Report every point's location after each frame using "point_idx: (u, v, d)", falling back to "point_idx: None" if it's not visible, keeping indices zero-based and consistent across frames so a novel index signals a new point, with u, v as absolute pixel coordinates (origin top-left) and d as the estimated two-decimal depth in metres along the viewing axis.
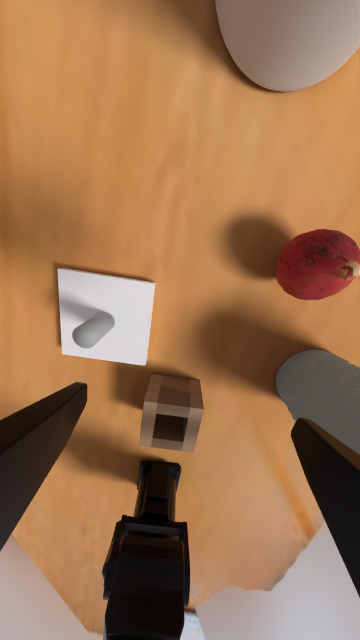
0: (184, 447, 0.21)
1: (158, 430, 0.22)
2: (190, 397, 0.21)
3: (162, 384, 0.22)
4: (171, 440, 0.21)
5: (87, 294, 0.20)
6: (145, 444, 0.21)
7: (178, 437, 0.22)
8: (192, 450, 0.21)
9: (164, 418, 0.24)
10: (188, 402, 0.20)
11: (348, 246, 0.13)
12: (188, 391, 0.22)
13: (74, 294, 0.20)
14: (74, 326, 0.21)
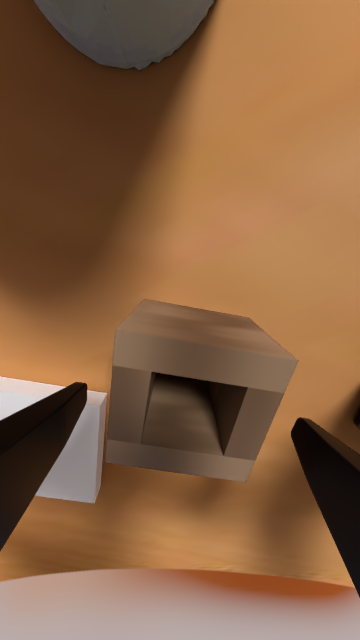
0: (272, 384, 0.07)
1: (221, 424, 0.09)
2: None
3: None
4: (238, 417, 0.07)
5: None
6: (244, 470, 0.08)
7: (239, 391, 0.07)
8: (287, 361, 0.06)
9: (217, 389, 0.10)
10: None
11: None
12: None
13: None
14: (45, 483, 0.14)
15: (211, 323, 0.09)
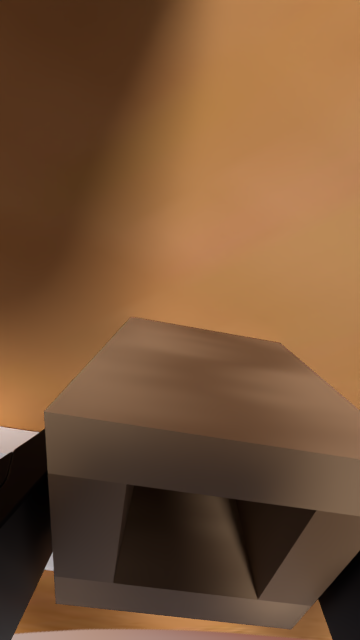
0: None
1: (249, 526, 0.05)
2: None
3: None
4: (290, 551, 0.04)
5: None
6: (291, 616, 0.05)
7: None
8: None
9: None
10: None
11: None
12: None
13: None
14: None
15: (233, 362, 0.05)
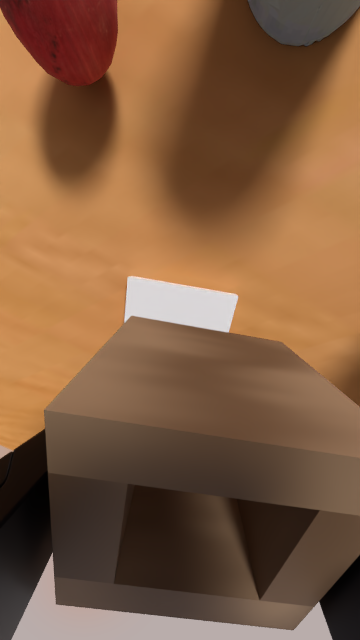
0: None
1: (251, 526, 0.05)
2: None
3: None
4: (293, 551, 0.04)
5: None
6: (293, 617, 0.05)
7: None
8: None
9: None
10: None
11: None
12: None
13: None
14: None
15: (235, 361, 0.05)
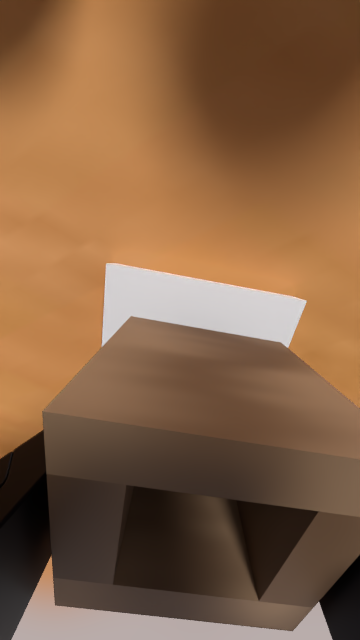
0: None
1: (250, 527, 0.05)
2: None
3: None
4: (292, 553, 0.04)
5: None
6: (292, 618, 0.05)
7: None
8: None
9: None
10: None
11: None
12: None
13: None
14: None
15: (234, 362, 0.05)
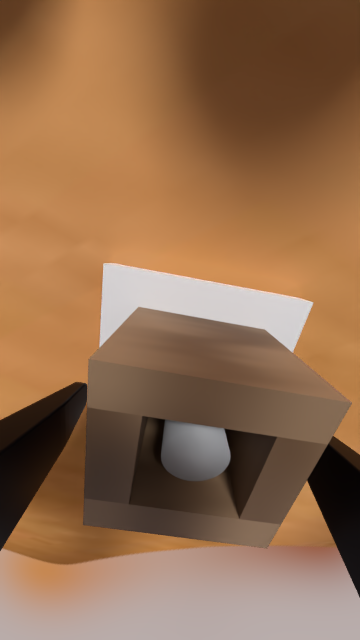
0: (312, 433, 0.05)
1: (235, 470, 0.07)
2: None
3: None
4: (261, 473, 0.05)
5: None
6: (266, 535, 0.06)
7: (262, 436, 0.06)
8: (335, 404, 0.05)
9: None
10: None
11: None
12: None
13: None
14: None
15: (222, 340, 0.07)
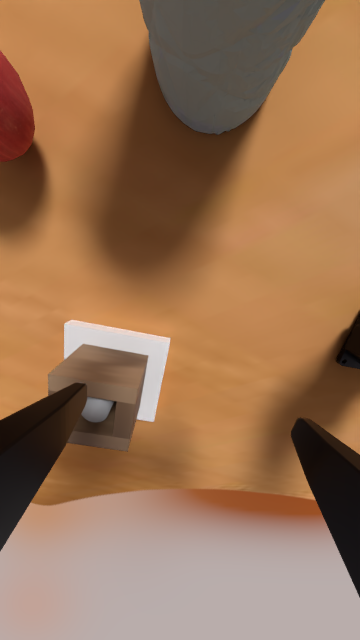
0: (128, 400, 0.14)
1: None
2: None
3: None
4: (115, 415, 0.14)
5: None
6: (125, 444, 0.15)
7: None
8: (132, 389, 0.13)
9: None
10: None
11: None
12: None
13: None
14: None
15: (112, 363, 0.16)
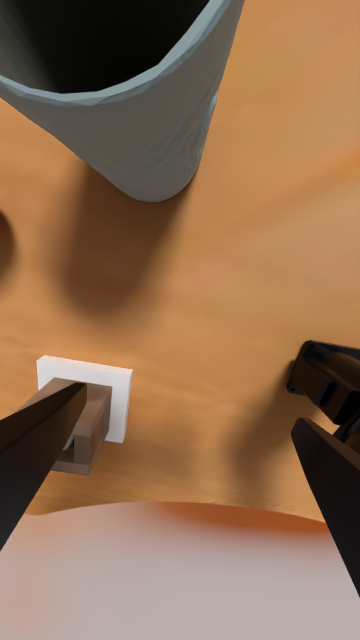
0: (84, 433, 0.16)
1: None
2: None
3: None
4: (74, 446, 0.16)
5: None
6: (86, 470, 0.17)
7: None
8: (86, 425, 0.16)
9: None
10: None
11: None
12: None
13: None
14: None
15: None
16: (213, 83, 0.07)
